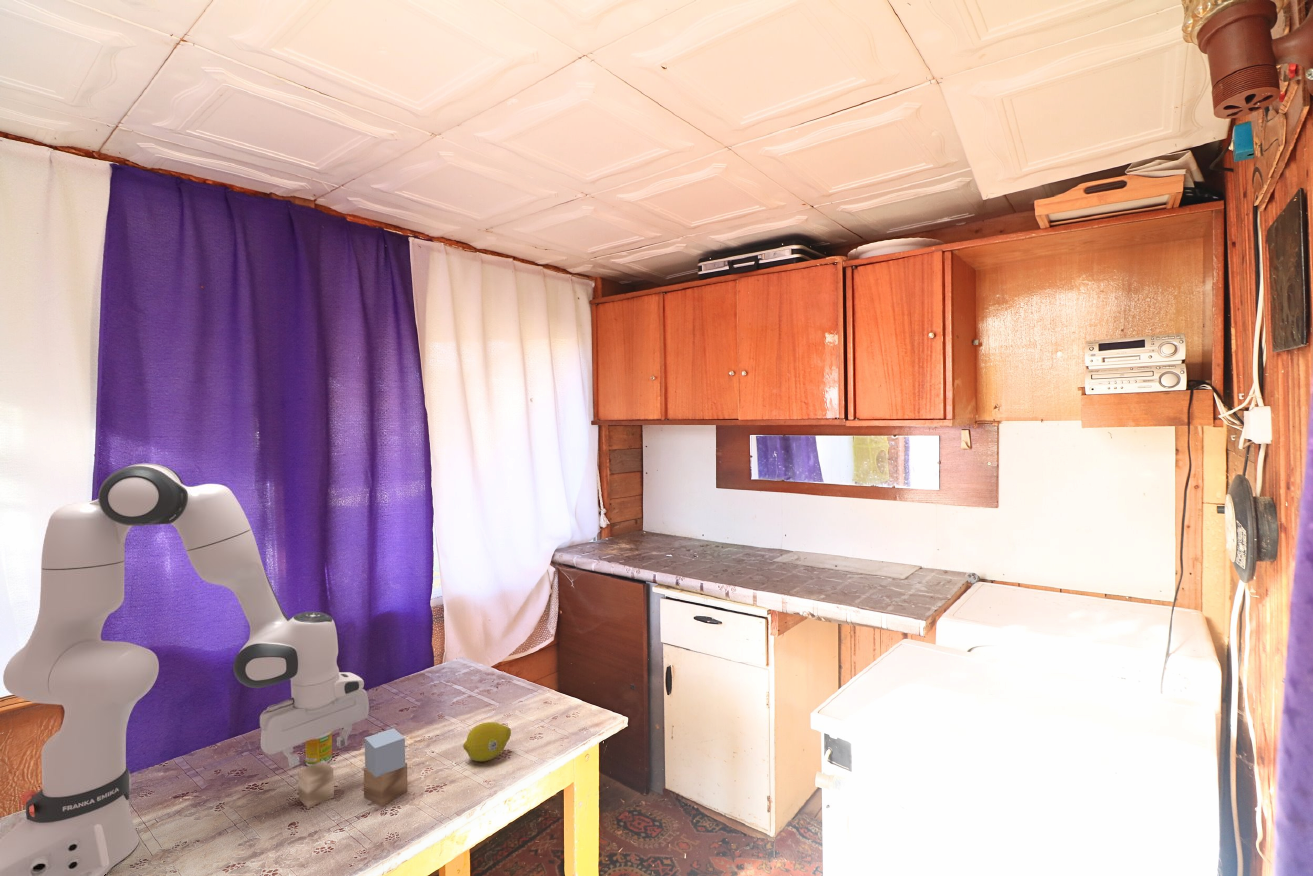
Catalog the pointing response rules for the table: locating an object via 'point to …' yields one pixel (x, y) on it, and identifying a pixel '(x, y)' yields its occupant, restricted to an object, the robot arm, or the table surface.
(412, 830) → the table surface
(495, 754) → the lemon
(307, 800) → the maple block
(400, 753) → the top block
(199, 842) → the table surface
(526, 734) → the table surface
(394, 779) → the bottom block
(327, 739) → the supplement bottle
